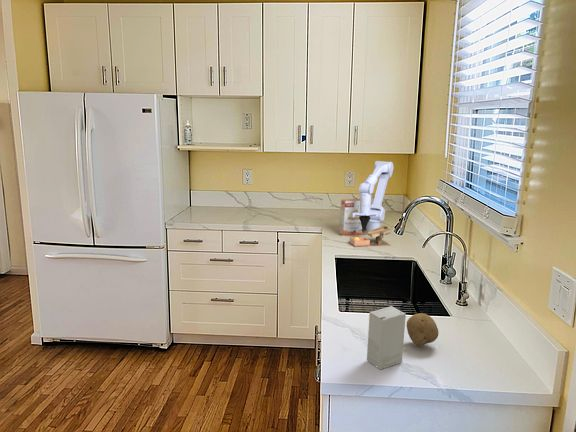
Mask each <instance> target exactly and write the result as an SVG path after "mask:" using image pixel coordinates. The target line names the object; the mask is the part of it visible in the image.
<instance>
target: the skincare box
mask: <svg viewBox="0 0 576 432" xmlns="http://www.w3.org/2000/svg"><path fill="white" fill-rule="evenodd" d="M406 316H407V314H406V313H405V312H403V311H401V310H399V309H398V308H396V307H394V306H392V305H390V306H386V307H384V308H381V309H377V310H372V311H369V315H368V317H369V318H368V330H367V331H368V334H367V349H366V350H367V351H366V352H367V353H366V361H367V360H368V361H370V362H371V363H372V364H371V363H370V362H369V363H370V364H371V365H373V364H374V365H375V366H377V367H378V368H379V369H378V368H377V367H376V368H377V369H378V370H380V369H381V370H383V369H382V368H384V369H386V368H385V367H387V368H390V367H392V365H393V366H395V364H396V365H398V364H401V363H403V355H404V354H403V353H404V343H405V341H404V340H405V328H406ZM368 361H367V362H368ZM374 365H373V366H374ZM375 366H374V367H375ZM389 366H390V367H389Z"/></svg>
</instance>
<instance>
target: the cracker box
mask: <svg viewBox="0 0 576 432" xmlns="http://www.w3.org/2000/svg"><path fill="white" fill-rule="evenodd" d="M340 200H341V201H340V212H339V213H340V215H339V233H338V234H339V235H340V236H363V235H364V233H363V232H362V231H361V230H362V225H361V221H360V219H359V217H352V213H357V212H360V198H350V199H349V198H348V199H347V198H346V199H343V198H342V199H340ZM364 236H365V235H364Z"/></svg>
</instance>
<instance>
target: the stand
mask: <svg viewBox="0 0 576 432" xmlns="http://www.w3.org/2000/svg"><path fill="white" fill-rule="evenodd" d="M384 236H385V234H384V233H383V232H380V236H377V237H375V240H374V241H370V246H353V245H352V244H350V241H349V242H348V244H349V245H350V246H352V247H353V248H361V247H363V248H364V247H367V248H370V247H389V246H392V244H389V243H388V242H386V241H385V240H384V241H383V240H382V239H384Z"/></svg>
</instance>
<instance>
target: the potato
mask: <svg viewBox="0 0 576 432" xmlns="http://www.w3.org/2000/svg"><path fill="white" fill-rule="evenodd" d="M406 330H407V334H408V336H409V338H410V341H411V342H412V343H413V344H414V346H416V347H418V346H419V347H424V346H425V345H427V344H430V343H433V342H435V341H436V340H437V339H438V337H439V333H440V332H439V328H438V326H437V323H436V322H435V320H434V319H433V318H432V317H431V316H430V315H428V314H426V313H422V312H420V313H415V314H413V315H411V316H410V317H409V318H408V319H407V321H406ZM419 347H418V348H419Z"/></svg>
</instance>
